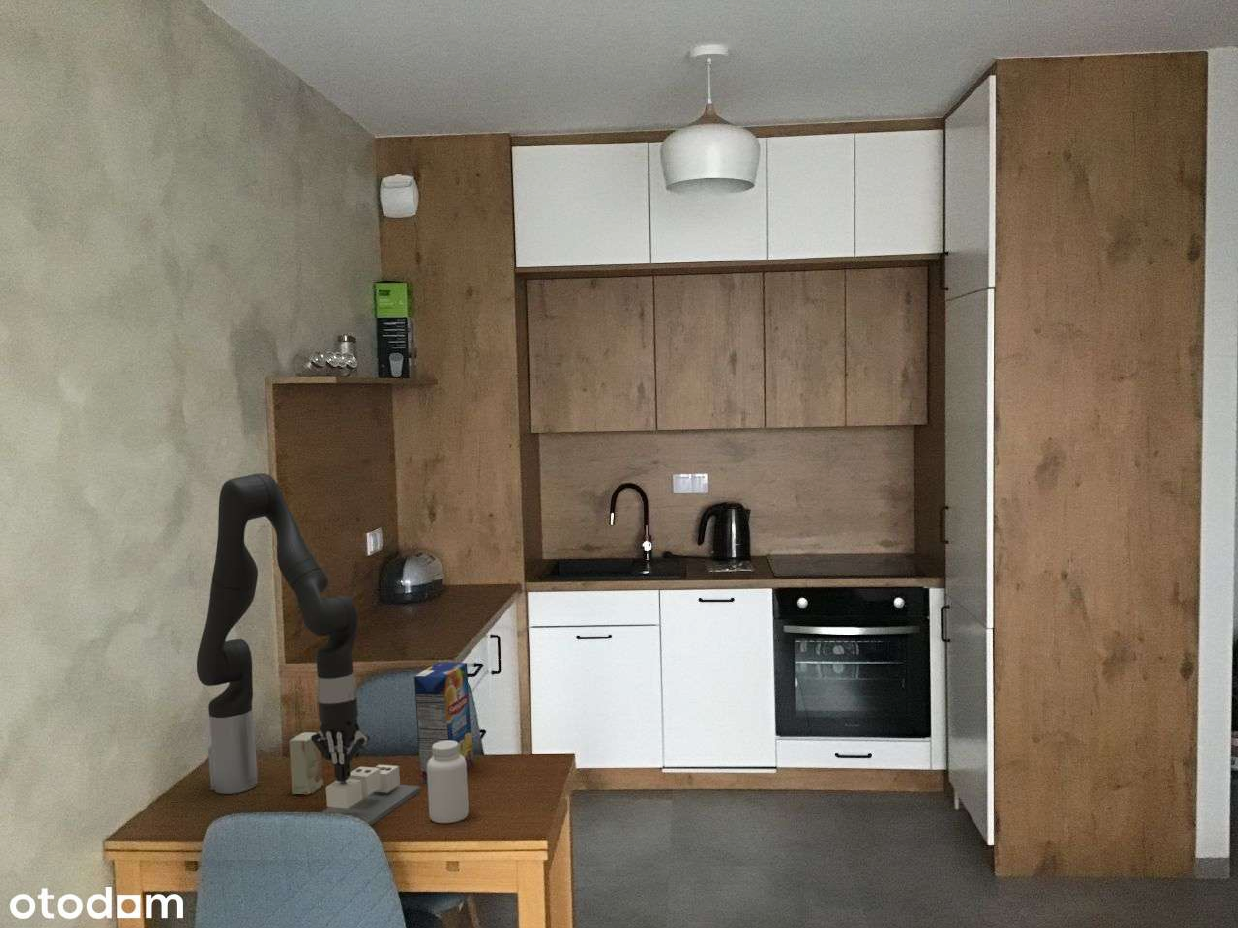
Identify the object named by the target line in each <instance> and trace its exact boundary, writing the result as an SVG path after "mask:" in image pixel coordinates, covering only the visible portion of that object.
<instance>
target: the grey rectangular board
mask: <svg viewBox="0 0 1238 928" xmlns="http://www.w3.org/2000/svg"><path fill="white" fill-rule="evenodd" d="M420 792H421V787H420V786H419V785H418V786H416V785H405V784H400V785H398V786H397V787H395V788H394V789H392V790H391V791H389V792H388V793H386V792H375V791H374V792H373V793H371V794H370V795H368V796H366V795H362V800H360V801H359V802H357V803H356V804H354V805H353V806H351V807H350V808H348V809H346V808H337V807H327V808H325V809H324V810H322V811H321V812H333V813H341V814H348V815H353V816H356V817H358V818H361V819H363V820H364V821H366V822H367V823H368V824H370V825H371V826H373V825H374V824H376V823H378V821H380V820H382V819H383V818H384V817H386V816H388V814H390V813H392V812H393V811H394V810H395V809H397V808H398V807H400V806H401V805H403V804H404V803H406V802H407V801H408V800H410V799H411V798H413V797H414V796H416V795H417V794H418V793H420Z"/></svg>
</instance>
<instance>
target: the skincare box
mask: <svg viewBox="0 0 1238 928" xmlns="http://www.w3.org/2000/svg"><path fill="white" fill-rule="evenodd" d="M316 733H317V732H309V731H308V732H306V731H305V732H301V733H299V734H297V735H295V737H293V738H292V739H290V740H289V756H290V771H291V772H290V773H291V788H292V795H293V794H311V793H312V794H313V793H315V792H317V791H318V790H319V789H320V788H322V787H323V786H324V782H323V780H324V779H323V767H322V764H323V763H322V754H321V752H320V751H319V749H318V748H317V746H316V745H315V744H314V742H313V741H312V739H311V736H312V735H314V734H316ZM322 785H323V786H322ZM321 786H322V787H321ZM317 789H318V790H317ZM312 794H311V795H312Z"/></svg>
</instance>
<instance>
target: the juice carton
mask: <svg viewBox="0 0 1238 928" xmlns="http://www.w3.org/2000/svg"><path fill="white" fill-rule="evenodd" d="M468 673H469V671H468V663H467V662H466V663H463V662H436V663H435V664H432V665H431V666H429V667H427V668H426V669H424V670H422V671H421V672H419V673H417V674H415V675H414V676H413V681H414V682H413V683H414V698H415V699H414V700H415V713H416V729H417V745H418V760H419V763H418V764H419V775H420V783H427V784H428V779H427V763H428V761H429V760H430V759H431V758H432V757H433V753H432V746H433V744H435V743H437V742H440V741H446V740H452V741H456V742H458V744H459V754H460V755H462V756H463V757H464V758H465V760H466V764H467V771H469V769H471V768H472V767H473V766H474V755H473V753H474V752H473V751H474V750H473V740H472V739H473V737H472V736H473V734H472V721H471V719H472V718H471V707H470V706H471V705H470V703H471V702H470V690H469V674H468Z"/></svg>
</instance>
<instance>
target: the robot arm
mask: <svg viewBox="0 0 1238 928" xmlns="http://www.w3.org/2000/svg"><path fill="white" fill-rule="evenodd" d="M264 517H265V518H267V520H268V521H269V522H270V524H271V526H272V527H273V529H274V531H275V535H276V536H275V537H276V561H277V566H278V568H279V571H280V573H281V575H282V577H283V578H284V579H285V580H286V582H287V583H288V585H289V587H290V588H291V590H292V591H293V592H294V594H295V597H296V600H297V605H298V608H299V611H300V613H301V617H302V619H303V623H304V625H305V627H306V628H307V629H308V630H309V632H310V633H312V634H313V635H315V636H317V637H327V636H329V637H328V640H327V641H326V643H325V644H324V645H322V646H320V648H318V649H317V652H316V670H317V672H316V673H317V683H316V684H317V686H316V687H317V688H316V690H317V704H318V717H319V722H320V723H321V724H320V727H319V731H317V732H315V733H316V734H314V735H312V736H311V739H312V741H313V742H314V744H315V745H316V746H317V748H318V749H319V751H320V752H321V756H323V759H325V760H326V761H331V762H332V763H333V770H334V776H335V779H336V781H338V782H345V781H346V780H348V779H349V777H350V775H351V772H352V771H351V762H352V761H354V760H356V759H357V758H358V757H359V756H360V755H361V753H362V752H363V750H364V749H365V748H366V746H367V744H368V742H369V741H370V736H369V735H368V734H366V735H364V734H363V733H362V732H361V731H360V726H359V724H358V722H357V721H358V715H359V713H358V700H357V699H358V698H357V684H356V678H355V672H354V660H353V650H354V646H355V639H356V636H357V629H358V624H359V623H358V622H359V615H358V610H357V606H356V604H355V603H354V601H353V600H352V599H351V598H350V597H348V596H346V595H337V596H334V597H330V598H327V599H324V597H323V596H322V593H323V592H324V591H325V590H326V589H327V587H328V585H329V580H328V577H327V575H326V573H325V572H324V570H323V569H322V567H321V565H320V564H319V563H318V561H317V559H316V558H315V557H314V555H313V554H312V552H311V551H310V549H309V548H308V546H307V544H306V542H305V539H304V538H303V536H302V534H301V531H300V530H299V529H300V528H299V527H298V524H297V522H296V521H295V518H294V515H293V513H292V511H291V509H290V507H289V504H288V502H287V500H286V498H285V495H284V494H283V492H282V490H281V488H280V485H278V483H277V482H276V480H275V479H274V477H272V476H271V475H270V474H268V473H265V472H264V473H262V472H261V473H260V472H259V473H254V474H253V473H252V474H249V475H244V476H239V477H234V478H230V479H228V480H227V481H225V482H224V483H223V484H222V487H221V490H220V491H219V499H218V518H217V519H218V520H217V521H218V524H217V542H216V551H215V560H214V565H213V570H212V574H211V575H212V576H211V584H210V590H209V598H208V599H209V600H208V605H207V606H208V608H207V614H206V620H205V624H204V628H203V632H202V635H201V636H202V637H201V638H200V639H201V640H200V643H199V647H198V651H197V657H196V673H197V677H198V679H199V681H200V683H201V684H202V685H203V686H208V687H212V686H213V687H215V686H220V685H225V684H228V683H229V684H228V686H227V688H225V690H224V691H222V692H221V693H220V694H219V695H217V696H215V697H213V698H212V699H211V700H210V701H209V703H208V705H207V706H208V707H207V708H208V711H207V712H208V720H209V721H208V722H209V732H210V733H209V734H210V746H209V747H208V748H207V757H208V769H209V782H210V790H213V791H214V792H216V793H217V794H221V795H228V794H231V795H232V794H238V793H242V792H245V791H248V790H251V789H253V788H255V787H257V785H258V783H259V781H258V768H257V767H258V766H257V752H256V751H257V750H256V737H255V726H254V713H253V711H254V710H253V700H254V699H253V698H254V689H253V686H254V685H253V656H252V652H251V651H252V650H251V649H250V646H249V644H248V642H247V641H246V640H244V639H243V638H235V639H230V640H227V638H228V635H229V634H230V632H231V631H232V629H233V628H234V626H236V624H237V623H239V621H240V619H242V617H243V616H244V615H245V613H246V612H247V611H248V610H249V608H250V607H251V605H252V603H253V601H254V600H255V597H256V591H257V590H256V589H257V584H258V578H259V570H258V566H257V563H256V561H255V560H254V558H253V556H252V555H251V553H250V551H249V550H248V548H247V546H246V544H245V531H246V526H247V524H248V522H249V521H251V520H257V519H260V518H264ZM353 744H354V745H353Z"/></svg>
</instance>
